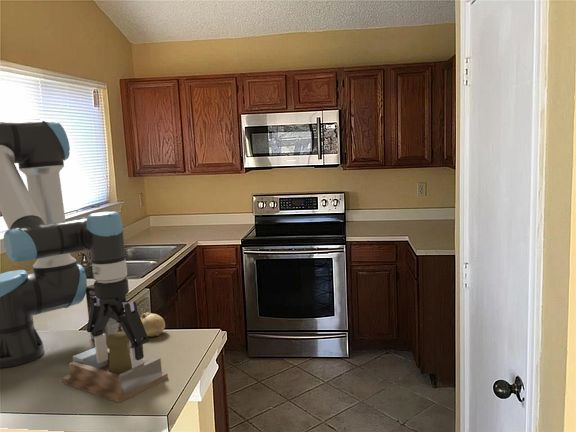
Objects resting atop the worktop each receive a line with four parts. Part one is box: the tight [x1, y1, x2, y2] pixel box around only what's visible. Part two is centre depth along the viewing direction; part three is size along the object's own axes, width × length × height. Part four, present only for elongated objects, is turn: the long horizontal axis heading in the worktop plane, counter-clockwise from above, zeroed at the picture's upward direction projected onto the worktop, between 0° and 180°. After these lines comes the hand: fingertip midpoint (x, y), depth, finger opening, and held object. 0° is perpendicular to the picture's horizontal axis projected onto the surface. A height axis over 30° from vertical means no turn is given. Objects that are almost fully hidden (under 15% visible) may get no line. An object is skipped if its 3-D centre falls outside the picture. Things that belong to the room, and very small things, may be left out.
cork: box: [106, 332, 132, 375], centre depth 129 cm, size 6×6×11 cm
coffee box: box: [85, 283, 124, 340], centre depth 161 cm, size 9×6×16 cm
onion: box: [140, 311, 166, 337], centre depth 162 cm, size 8×8×7 cm
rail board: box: [61, 348, 169, 404], centre depth 131 cm, size 22×14×6 cm, turn 54°
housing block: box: [72, 347, 108, 369], centre depth 136 cm, size 4×7×4 cm, turn 144°
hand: (120, 366), depth 129 cm, fingers open, 13 cm apart
